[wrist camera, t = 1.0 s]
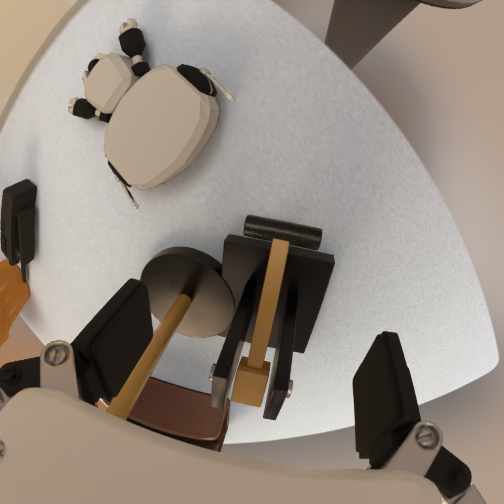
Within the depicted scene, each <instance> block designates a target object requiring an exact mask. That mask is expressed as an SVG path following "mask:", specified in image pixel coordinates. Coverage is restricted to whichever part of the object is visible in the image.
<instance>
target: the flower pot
mask: <svg viewBox="0 0 504 504" xmlns="http://www.w3.org/2000/svg"><path fill="white" fill-rule="evenodd" d="M29 296H30V291H29V287H28V285H27V281H26V283H24V282H23V281H22V272H21V271H20V269H19V268H18V267H17V265H16V264H15V265H14V266H11V265H10V264H9V260H4V261H1V262H0V347H1V346H2V345H3V343H4V342H5V341H6V340H7V338H8V337H9V329H10V327H11V325H12V323H13V322H14V320H15V319H16V317H17V316H18V314H19V312H20V311H21V309H22V308H23V306H24V304H25V303H26V301H27V300H28V298H29Z"/></svg>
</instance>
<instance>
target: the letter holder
mask: <svg viewBox="0 0 504 504" xmlns="http://www.w3.org/2000/svg"><path fill="white" fill-rule="evenodd" d="M211 398H212V396H211V395H207V394H203V393H200V392H196V391H193V390H189V389H185V388H182V387H178V386H175V385H172V384H169V383H166V382H162V381H159V380H156V379H153V378H150V377H149V379H148V381H147V383H146V384H145V386H144V388H143V390H142V392H141V394H140V395H139V397H138V399H137V401H136V403H135V405H134V406H133V408H132V410H131V412H130V414H129V416H128V418H127V420H126V421H128V422H130V423H133V424H135V425H137V426H140V427H142V428H145V429H147V430H150V431H153V432H155V433H158V434H161V435H164V436H167V437H169V438H172V439H175V440H179V441H182V442H185V443H188V444H191V445H195V446H198V447H202V448H205V449H209V450H213V451H217V452H221V448H222V445H223V442H224V439H225V435H226V432H227V429H228V421H229V406H230V400H228V399H227V401H226V404H225V407H224V409H219V408H215V407H212V406H211ZM113 399H114V397H113V398H112V400H113ZM102 400H103V401H104V402H105V403H106V404H107V405H108V406H109V405H110V404H111V402H112V400H111V401H110V402H108V401H106V400H104V399H102Z"/></svg>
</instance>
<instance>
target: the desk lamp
mask: <svg viewBox="0 0 504 504" xmlns="http://www.w3.org/2000/svg"><path fill="white" fill-rule="evenodd" d="M221 274H222V265H221V264H220V263H219V262H218V261H217V260H216V259H214V258H213V257H211V256H210V255H208V254H206V253H204V252H202V251H199V250H196V249H193V248H188V247H172V248H168V249H165V250H163V251H161V252H159V253H158V254H156V255H155V256H154V257H153V258H152V259H151V260H150V261H149V262H148V264H147V265H146V266H145V267H144V269H143V271H142V274H141V279H140V281H143V282H144V283H145V286H147V287H148V292H149V302H150V311H151V312H152V314H153V315H154V316H155V317H156V318H157V319H158V320H159V321H160V322H161V323H160V325H159V326H158V328H157V329H156V331H155V332H154V334H153V338H152V341H151V342H150V344H149V345H148V347H147V349H146V350H145V352H144V353H143V355H142V357H141V358H140V360H139V361H138V363H137V365H136V366H135V368H134V369H133V371H132V373H131V374H130V376H129V378H128V379H127V381H126V383H125V384H124V386H123V387H122V389H121V391H120V392H119V394H118V396H117V397H114V399H113V400H112V402H111V404H110V405H109V407H108V409H107V410H106V412H107V413H110V414H112V415H114V416H116V417H119V418H121V419H123V420H127V418H128V416H129V414H130V412H131V410H132V408H133V406H134V405H135V403H136V401H137V399H138V397H139V395H140V394H141V392H142V390H143V388H144V386H145V384H146V383H147V381H148V379H149V377H150V375H151V374H152V372H153V370H154V368H155V366H156V365H157V363H158V361H159V359H160V357H161V356H162V354H163V352H164V350H165V348H166V347H167V345H168V343H169V341H170V340H171V338H172V336H173V334H174V333H175V331H176V332H178V333H181V334H184V335H187V336H191V337H210V336H214V335H217V334H219V333H221V332H223V331H224V330H225V329H226V328H227V327H228V326H229V325H230V324H231V322H232V320H233V318H234V314H235V301H234V297H233V294H232V292H231V289H230V288H229V286H228V284H227V283H226V281H225V280H224V279H223V277H222V276H221Z"/></svg>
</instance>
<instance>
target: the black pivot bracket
mask: <svg viewBox="0 0 504 504" xmlns="http://www.w3.org/2000/svg"><path fill="white" fill-rule="evenodd" d="M271 246H272V243H271V242H266V241H261V240H256V239H251V238H245V237H240V236H235V235H230V234H229V235H228V236H227V238H226V239H225V241H224V250H223V262H222V274H221V276H222V277H223V279H224V280H225V281H226V283H227V284H228V286H229V288H230V289H231V292H232V294H233V297H234V301H235V314H234V318H233V320H232V322H231V324H230V325H229V326H228V327H227V328H226V329H225V330H224V331H223V332H221V333H219V334H217V335H218V336H222V337H226V339H225V342H224V345H223V348H222V350H221V353H220V356H219V358H218V361H217V364H213V366H212V368H211V371H210V376H209V381H212V398H211V406H212V407H215V408H219V409H224V407H225V404H226V401H227V398H228V394H229V391H230V388H231V384H232V381H233V378H234V375H235V371H236V368H237V365H238V361H239V358H240V354H241V351H242V348H243V344H244V342H248V343H252V339H253V334H254V329H255V325H256V320H257V315H258V310H259V305H260V300H261V296H262V291H263V286H264V281H265V276H266V271H267V266H268V261H269V256H270V251H271ZM334 264H335V261H334V255H330V254H326V253H321V252H316V251H311V250H306V249H301V248H296V247H291V246H289V248H288V253H287V258H286V263H285V268H284V273H283V278H282V283H281V287H280V292H279V297H278V301H277V306H276V311H275V315H274V320H273V324H272V328H271V333H270V337H269V342H268V346H267V347H272V348H276V350H275V356H274V361H273V367H272V372H271V378H270V383H269V389H268V394H267V399H266V404H265V409H264V414H263V418H265V419H270V420H276V418H277V416H278V414H279V412H280V409H281V407H282V405H283V402H284V400H285V398H289V397H290V395H291V392H292V387H293V380H290V374H291V365H292V356H293V352H299V353H304V351H305V349H306V346H307V344H308V341H309V338H310V335H311V333H312V330H313V327H314V324H315V322H316V319H317V316H318V313H319V310H320V307H321V304H322V302H323V299H324V296H325V293H326V290H327V286H328V283H329V280H330V277H331V274H332V271H333V267H334Z"/></svg>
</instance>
